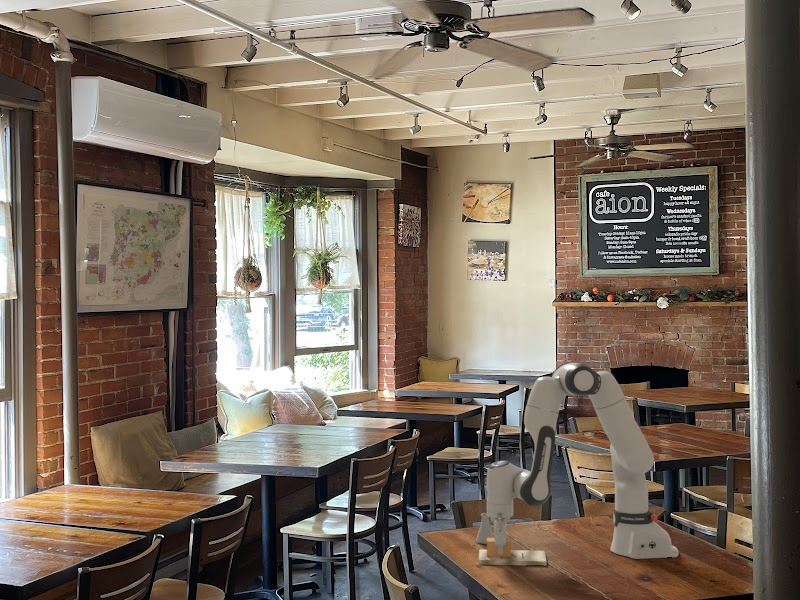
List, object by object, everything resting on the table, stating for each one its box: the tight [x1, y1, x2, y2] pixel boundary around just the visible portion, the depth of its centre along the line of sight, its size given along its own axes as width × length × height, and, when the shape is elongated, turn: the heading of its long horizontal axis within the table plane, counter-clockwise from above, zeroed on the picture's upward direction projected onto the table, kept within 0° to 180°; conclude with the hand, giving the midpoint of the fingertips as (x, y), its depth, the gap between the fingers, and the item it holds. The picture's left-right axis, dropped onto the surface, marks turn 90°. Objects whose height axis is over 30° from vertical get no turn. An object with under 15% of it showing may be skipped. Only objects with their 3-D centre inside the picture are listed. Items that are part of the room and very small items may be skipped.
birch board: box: [478, 548, 548, 567], centre depth 311 cm, size 22×12×2 cm, turn 84°
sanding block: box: [486, 537, 512, 557], centre depth 312 cm, size 8×4×5 cm, turn 84°
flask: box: [475, 512, 495, 545], centre depth 333 cm, size 7×7×10 cm
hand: (500, 551), depth 312 cm, fingers closed on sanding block, 4 cm apart
